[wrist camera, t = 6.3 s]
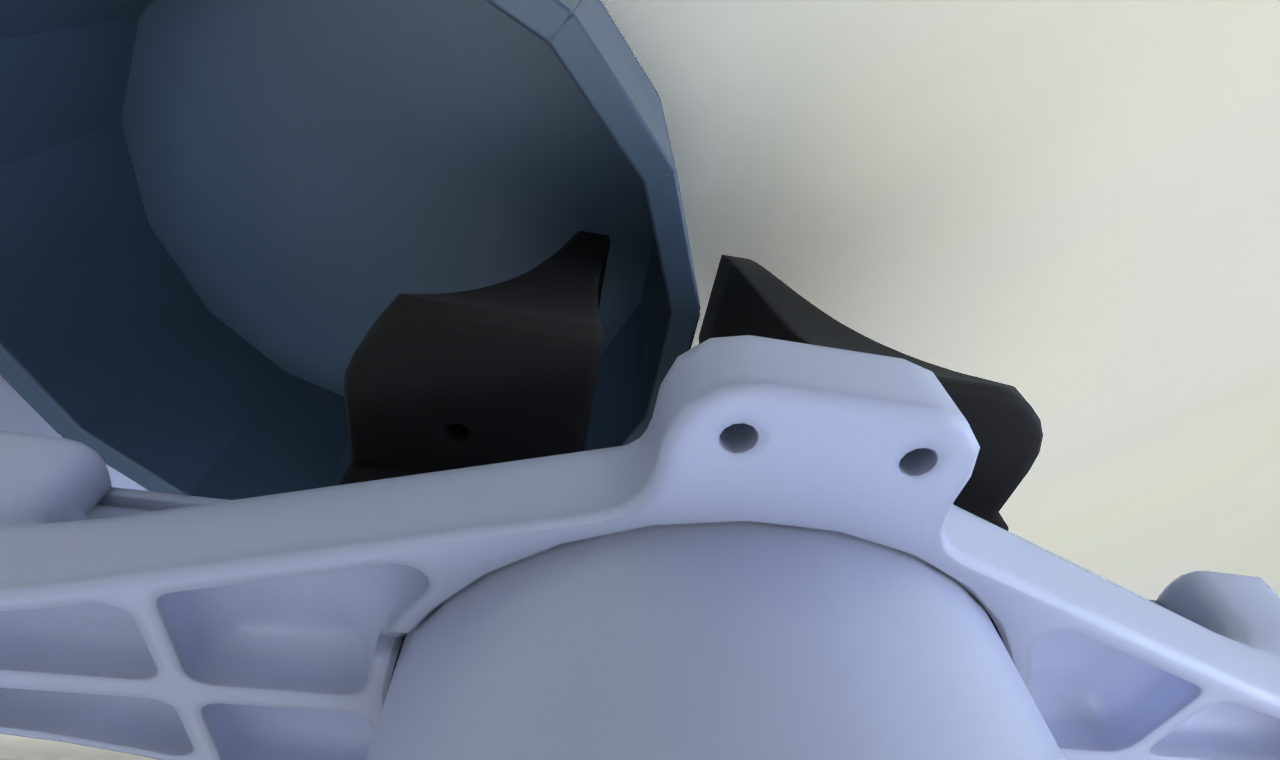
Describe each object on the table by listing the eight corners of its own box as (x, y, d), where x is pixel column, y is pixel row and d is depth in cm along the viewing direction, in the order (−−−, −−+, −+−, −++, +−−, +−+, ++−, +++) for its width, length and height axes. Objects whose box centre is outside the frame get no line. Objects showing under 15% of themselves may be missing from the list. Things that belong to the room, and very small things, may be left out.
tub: (189, 384, 17) (52, 526, 13) (26, -206, 10) (-371, -299, 6) (625, 440, 18) (626, 583, 14) (736, -42, 12) (795, -30, 8)
